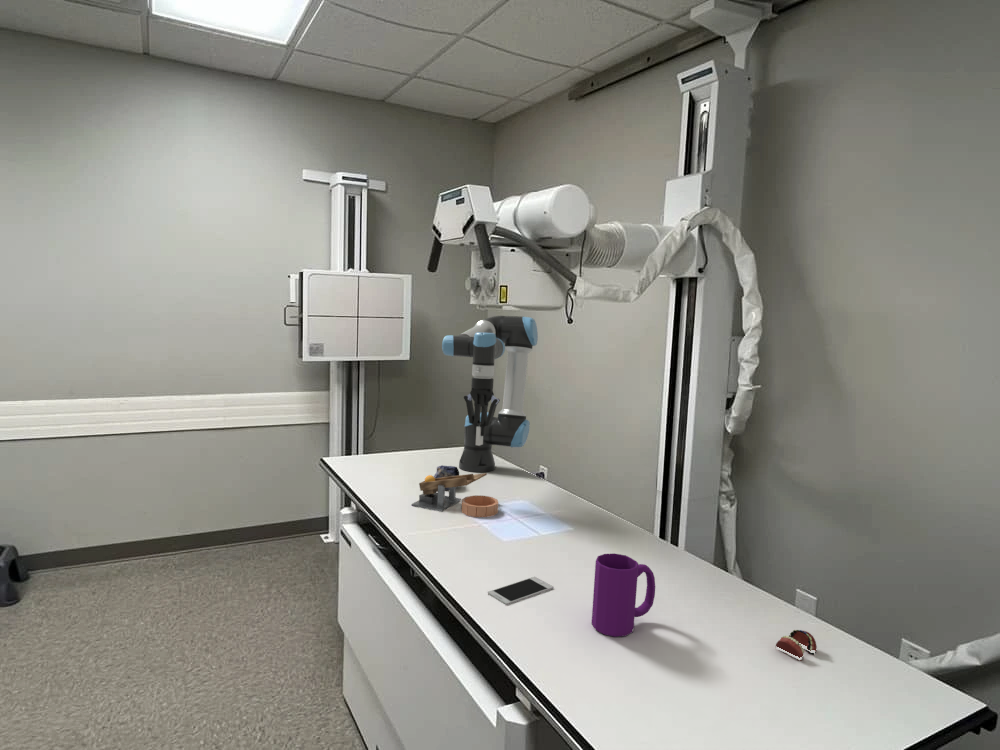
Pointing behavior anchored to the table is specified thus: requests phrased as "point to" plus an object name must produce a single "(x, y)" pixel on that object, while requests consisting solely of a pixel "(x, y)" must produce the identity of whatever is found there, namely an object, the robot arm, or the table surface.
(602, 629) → the mug
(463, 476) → the lever
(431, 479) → the ball
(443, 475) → the rock
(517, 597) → the smartphone
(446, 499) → the pivot base
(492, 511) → the terracotta bowl
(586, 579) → the table surface
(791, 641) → the dentures
